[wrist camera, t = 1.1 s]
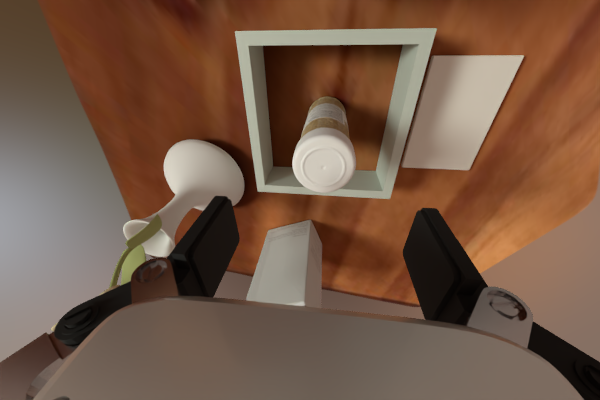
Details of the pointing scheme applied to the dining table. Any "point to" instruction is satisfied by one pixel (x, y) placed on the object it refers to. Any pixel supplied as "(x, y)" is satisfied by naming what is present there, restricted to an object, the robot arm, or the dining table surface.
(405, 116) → the open box
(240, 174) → the flower in vase
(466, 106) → the mat
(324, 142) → the sprinkles bottle
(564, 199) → the dining table surface
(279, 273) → the skincare box
